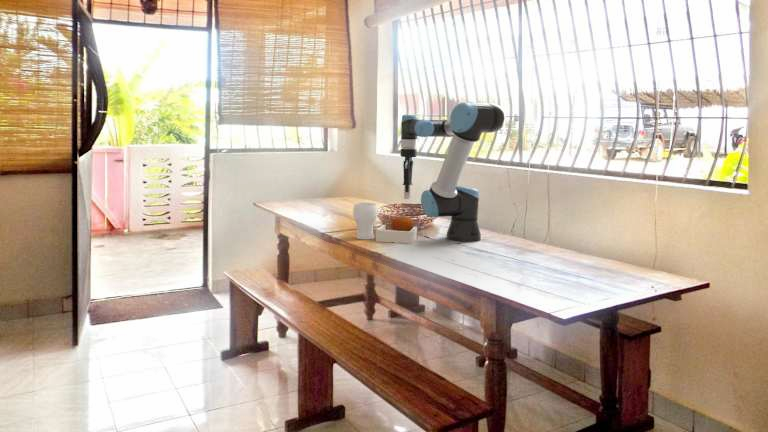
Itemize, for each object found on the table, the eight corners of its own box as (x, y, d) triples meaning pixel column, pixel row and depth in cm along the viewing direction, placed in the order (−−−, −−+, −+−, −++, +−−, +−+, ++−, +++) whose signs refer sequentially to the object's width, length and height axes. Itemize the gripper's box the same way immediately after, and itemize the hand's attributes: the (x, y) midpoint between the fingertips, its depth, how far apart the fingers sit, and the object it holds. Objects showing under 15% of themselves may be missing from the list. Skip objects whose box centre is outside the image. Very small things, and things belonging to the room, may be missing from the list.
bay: (383, 234, 283) (383, 219, 282) (417, 237, 280) (418, 221, 279) (375, 241, 268) (375, 225, 267) (411, 243, 265) (412, 227, 264)
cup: (374, 241, 269) (374, 206, 267) (350, 239, 271) (350, 205, 269) (379, 236, 279) (380, 203, 277) (356, 235, 281) (356, 201, 279)
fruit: (418, 234, 286) (419, 217, 285) (400, 236, 280) (400, 219, 279) (404, 231, 295) (405, 214, 293) (386, 232, 289) (387, 215, 287)
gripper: (403, 147, 298) (401, 196, 302) (398, 148, 285) (396, 200, 289) (418, 148, 296) (417, 197, 300) (414, 149, 284) (412, 201, 288)
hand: (407, 198), depth 295 cm, fingers closed
